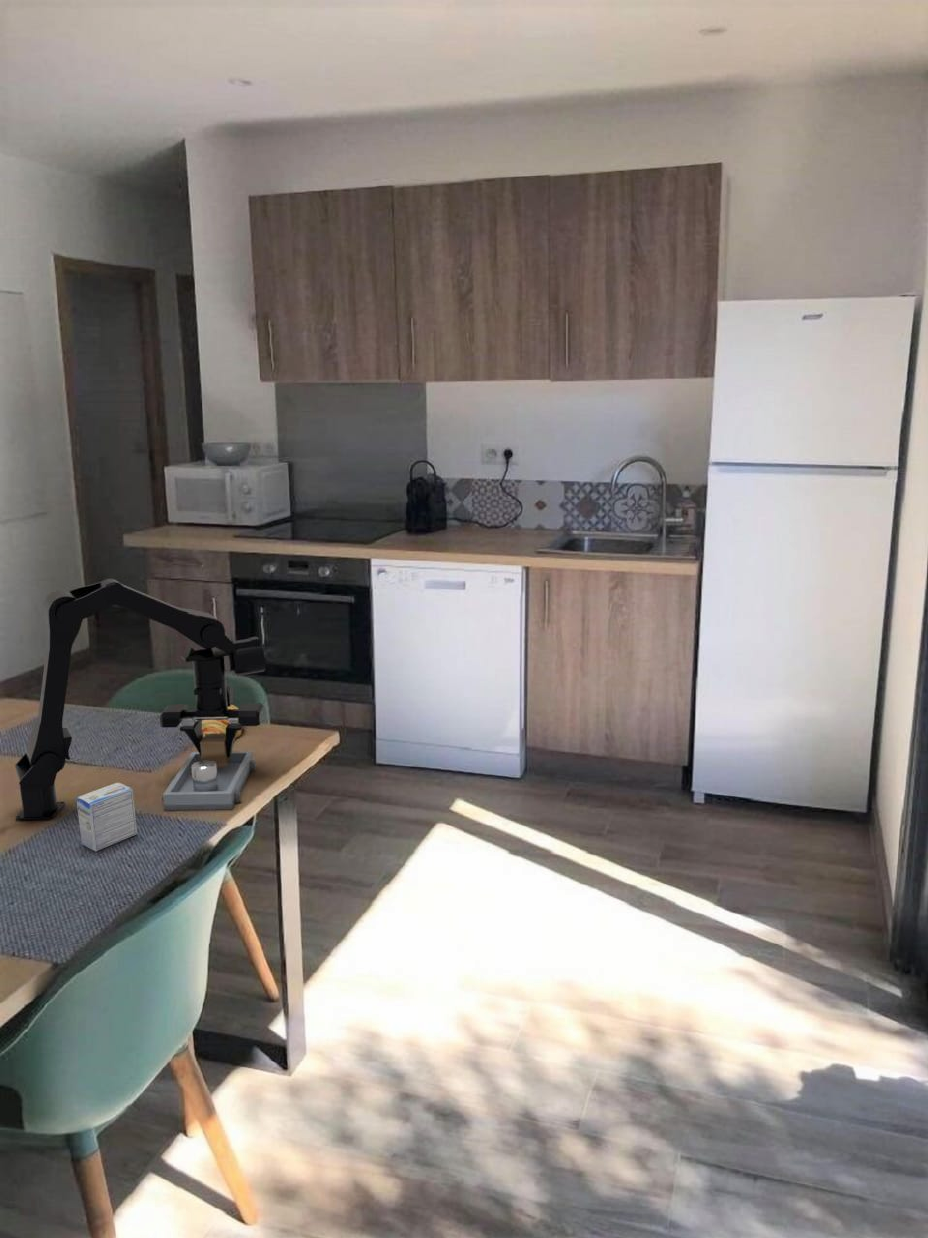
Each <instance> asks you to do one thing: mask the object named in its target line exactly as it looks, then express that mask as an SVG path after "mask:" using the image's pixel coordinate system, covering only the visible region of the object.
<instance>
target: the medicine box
mask: <svg viewBox="0 0 928 1238" xmlns="http://www.w3.org/2000/svg"><path fill="white" fill-rule="evenodd" d="M76 807H77V815H78V822H79V831H80V839H81V840H80V841H81V843H82V845H83V846H85V847H86V848H88V849H89V850H91V851H94V852H98V851H101V850H102V849H106V848H107V847H109V846H112V845H115V844H117V843H119V842H123V841H124V840H126V839H129V838H131V837H133V836H136V835H138V830H137V820H136V812H135V811H136V809H135V798H134V791H133V788H131V787H129V786H128V785H125V784H123V783H121V782H114V783H112V784H108V785H107V786H104V787H102V788H98V789H96V790H93V791H90V792H87V793H85V794H82V795H80V796H78V797H76Z"/></svg>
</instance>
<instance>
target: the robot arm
mask: <svg viewBox="0 0 928 1238" xmlns="http://www.w3.org/2000/svg"><path fill="white" fill-rule="evenodd" d="M112 606H117V607H120V608H122V609H125V610H127V611H130V612H132V613H134V614H137V615H140V616H142V617H144V618H147V619H150V620H151V621H154V622H157V623H159V624H162V625H164V626H166V627H169V628H171V629H172V630H173V629H174V630H175V631H177V632H178V633H179V634H181V635H182V636H184V637H186V638H187V639H188V640H190V641H191V642H193V643H194V644H196V645H198V646H199V647H201V648H196V649H194V647H192V646H191V645H188V646H187V648H186V650H184V652H182V654H181V655H180V657H181V659H182V660H184V661H185V662H186V663H189V662H192V667H193V679H194V688H193V694H194V696H195V703H196V709H189V706H188V704H187V703H183V704H181V703H179V704H178V703H177V704H173V703H172V704H171V703H169V704H168V705H167V706H166V708H164V710H163V711H162V712H161V713H160V715H159V721H160V722H159V723H160V727H161V728H167V729H168V728H177V727H178V726H179V725H180V726H179V731H180V732H184V733H185V734H186V736H187V738H189V740H190V741H191V742H192V743H193V745H194V747H195V749H196V750H197V752H199V754H200V755H201V745H200V742H201V740H202V739H203V733H202V720H224V719H228V722H229V724H228V726H227V727H226V753H227V757H228V758H230V756H231V752H232V751H233V747H234V744H235V740H236V738H237V737H236V734H237V731H238V730H243V728H244V727H257V726H260V725H261V724H262V722H263V720H264V718H266V717H265V716H266V714H265V712H266V711H265V710H266V709H265V706H264V705H263V704H262V703H261V702H249V703H248V702H244V703H242V705H241V707H240V708H238V709H228V707H230V706H231V705H232V704H234V687H231V686H228V681H227V679H226V671H227V672H229V673H232V675H233V676H234V677H238V676H245V675H251V674H257V673H262V672H265V671H266V667H267V658H266V656H265V652H264V649H263V646H262V645H261V639H260V638H259V637H258V636H252V637H248V638H246V639H238V640H232V639H231V638H230V637H228V636H227V635H226V629H225V626H224V624H223V623H222V622H221V620H219V619H218V618H216V617H215V616H213V615H212V614H211V613H208V612H205V611H200V610H197V609H192V608H184V607H178V606H176V605H173V604H170V603H168V602H166V601H163V600H161V599H158V598H156V597H153V596H151V595H149V594H147V593H145V592H142V591H139V590H137V589H134V588H132V587H130V586H127V585H125V584H123V583H121V582H119V581H118V580H116V579H115V578H106V579H104V580H102V581H99V582H96V583H91V584H89V585H83V586H80V587H76V588H74V589H73V588H72V589H71V590H65V589H59V590H58V589H57V590H55V591H52V592H50V593H49V594H48V595H47V596H46V597H45V599H44V601H43V616H44V618H43V619H44V627H45V635H46V649H45V658H44V664H43V666H44V667H43V674H42V683H41V691H40V699H39V707H38V714H37V719H36V722H35V724H34V725H33V727H32V730H31V732H30V735H29V737H28V741H27V744H26V749H25V753H24V754H23V755H22V757H20V759H19V760H18V761H17V762H16V763H15V764H14V768H15V770H16V771H15V772H16V774H17V777H18V780H19V781H18V784H19V785H18V786H19V793H20V799H21V800H20V801H21V805H22V807H21V808H22V810H21V811H20V812H19V813H18V814H17V815H15V817H14V818H15V820H16V821H39V820H40V821H41V820H44V821H45V820H46V821H47V820H53V819H54V818H55V816H57V815H58V813H59V812H60V811H61V810H62V809H63V808H64V806H65V805H66V802H65V801H58V799H57V792H56V791H57V790H56V784H55V782H56V778H57V775H58V773H59V772H60V771H62V770H63V768H65V764H66V760H68V761H70V760H71V757H70V753H69V752H70V747H71V744H72V741H73V738H72V735H71V733H70V731H69V729H68V727H63V721H64V719H63V718H64V711H65V710H64V709H65V704H66V703H65V702H66V697H67V696H66V695H67V688H68V679H69V671H70V664H71V656H72V649H73V645H74V643H75V642H76V639H77V637H78V635H79V633H80V630H81V626H82V623H83V620H84V619H87V618H90V617H92V616H95V615H96V614H98V613H100V612H102V611H104V610H105V609H108V608H109V607H112ZM214 648H216V650H212V649H214ZM235 737H236V738H235Z"/></svg>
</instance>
